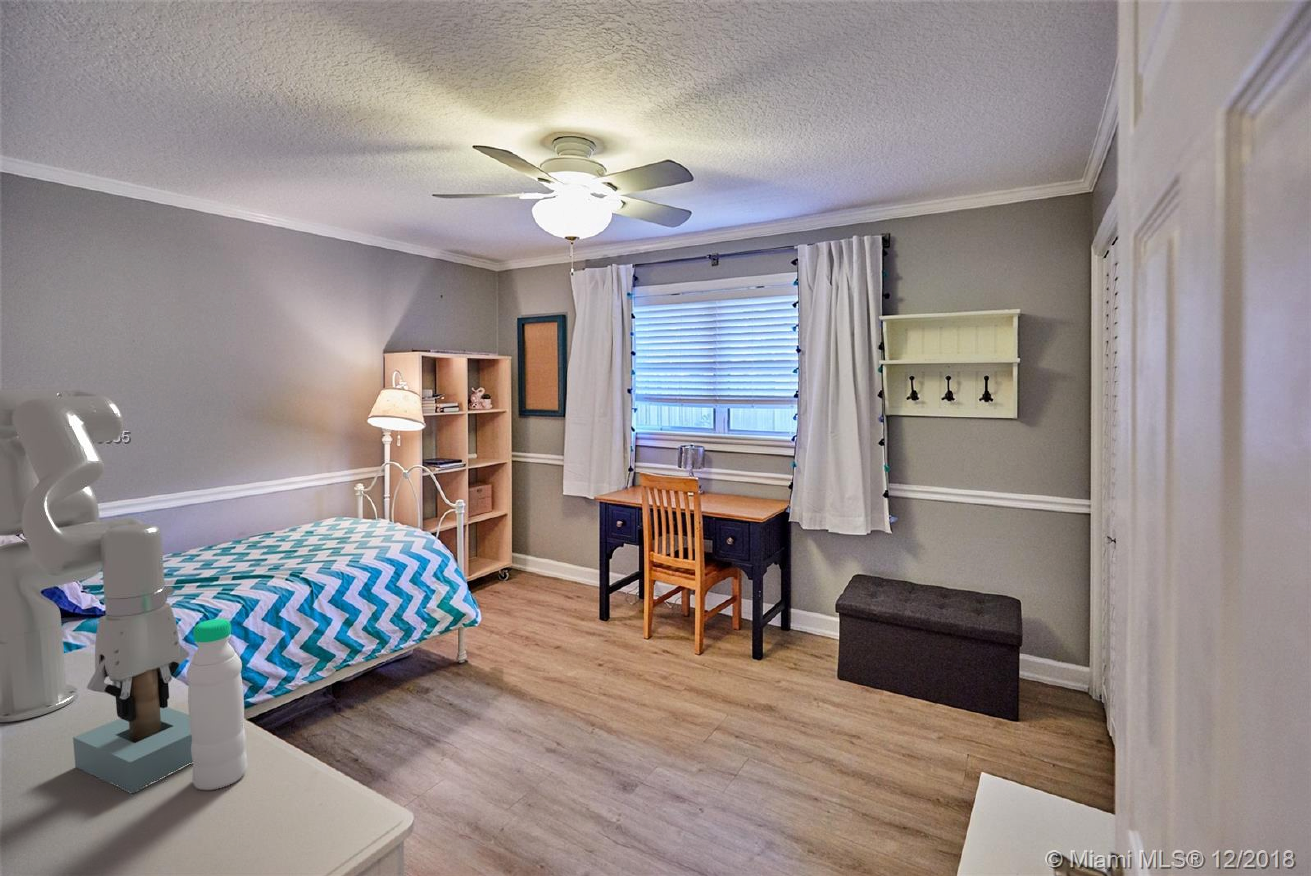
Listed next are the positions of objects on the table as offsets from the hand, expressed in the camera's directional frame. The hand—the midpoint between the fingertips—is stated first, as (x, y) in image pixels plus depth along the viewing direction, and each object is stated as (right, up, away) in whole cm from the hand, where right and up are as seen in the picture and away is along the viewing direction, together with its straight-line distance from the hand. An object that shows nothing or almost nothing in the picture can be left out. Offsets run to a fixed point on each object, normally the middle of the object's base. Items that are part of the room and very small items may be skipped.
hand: (144, 711), depth 104 cm
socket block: (0, -8, +1) cm, 8 cm away
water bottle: (+15, -9, -4) cm, 18 cm away
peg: (0, -5, 0) cm, 5 cm away
